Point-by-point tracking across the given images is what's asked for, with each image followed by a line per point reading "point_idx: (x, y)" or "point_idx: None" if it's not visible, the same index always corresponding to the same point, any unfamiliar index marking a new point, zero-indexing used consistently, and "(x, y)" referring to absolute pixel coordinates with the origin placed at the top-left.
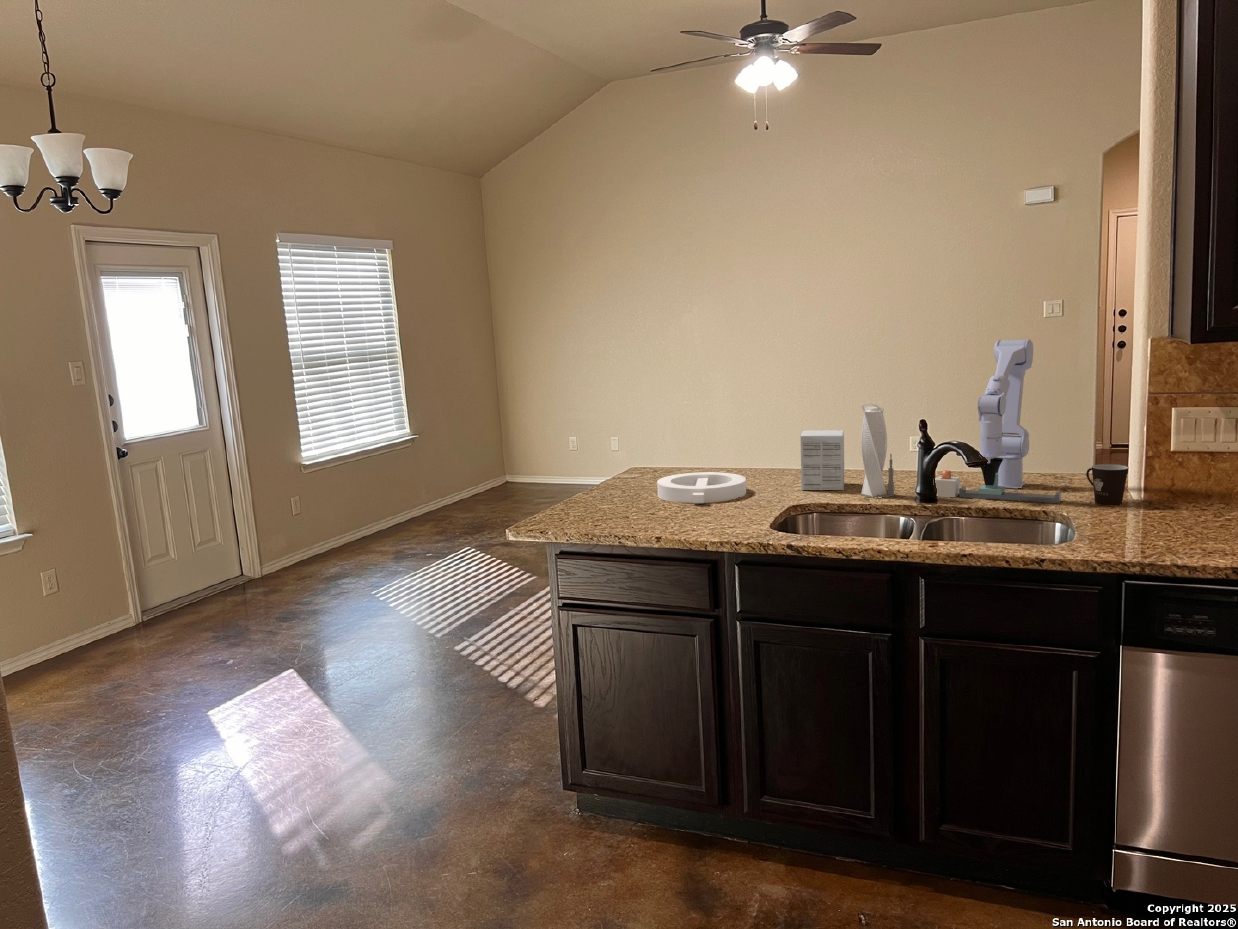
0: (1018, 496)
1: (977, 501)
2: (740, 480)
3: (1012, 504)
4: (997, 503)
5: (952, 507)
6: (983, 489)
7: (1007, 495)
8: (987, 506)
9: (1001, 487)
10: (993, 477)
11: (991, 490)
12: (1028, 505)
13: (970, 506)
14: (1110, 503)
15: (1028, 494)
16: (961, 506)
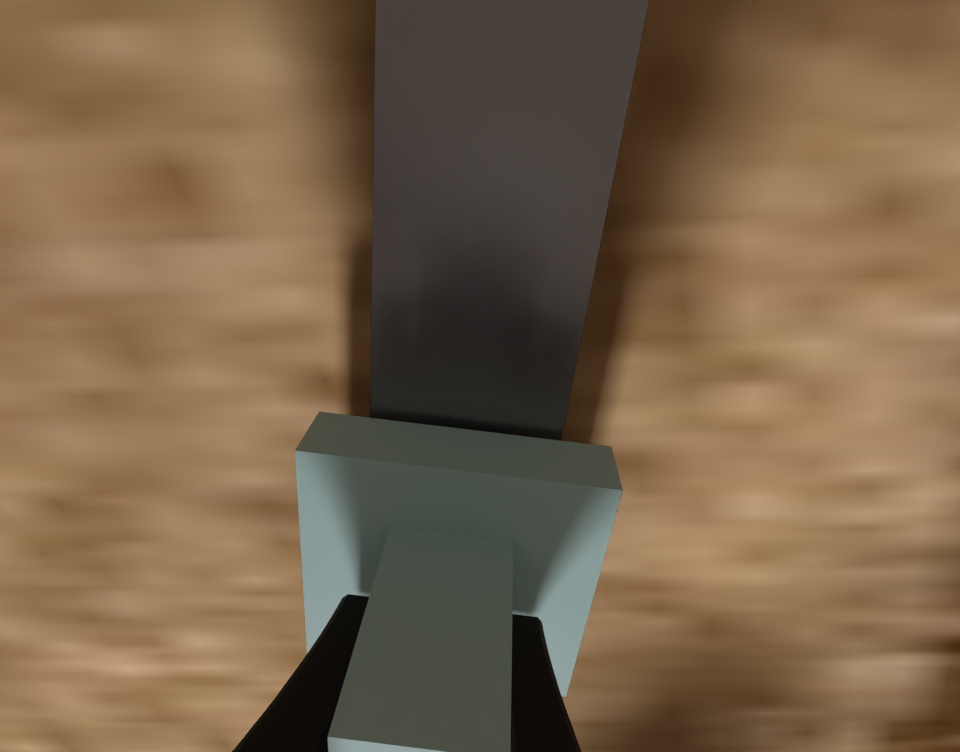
0: (600, 220)
1: (659, 593)
2: None
3: (819, 273)
4: (756, 433)
5: (939, 737)
6: (573, 652)
7: (573, 368)
8: (924, 516)
9: (421, 489)
10: (574, 747)
11: (595, 578)
12: (906, 41)
13: (908, 636)
14: None
15: (456, 59)
16: (901, 689)
